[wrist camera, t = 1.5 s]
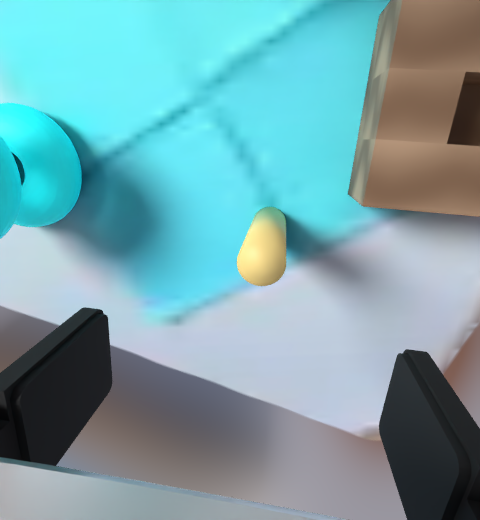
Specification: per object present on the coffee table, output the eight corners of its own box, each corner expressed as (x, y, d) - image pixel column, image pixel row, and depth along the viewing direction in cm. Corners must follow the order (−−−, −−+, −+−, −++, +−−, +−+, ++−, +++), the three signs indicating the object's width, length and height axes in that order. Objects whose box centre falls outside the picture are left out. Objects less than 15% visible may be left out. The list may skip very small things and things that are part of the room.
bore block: (379, 16, 23) (406, -21, 18) (571, 22, 22) (661, -16, 16) (347, 193, 27) (362, 206, 22) (508, 207, 26) (564, 224, 20)
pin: (254, 205, 28) (238, 237, 19) (288, 208, 28) (288, 242, 18) (251, 237, 29) (235, 283, 20) (284, 240, 29) (283, 288, 19)
